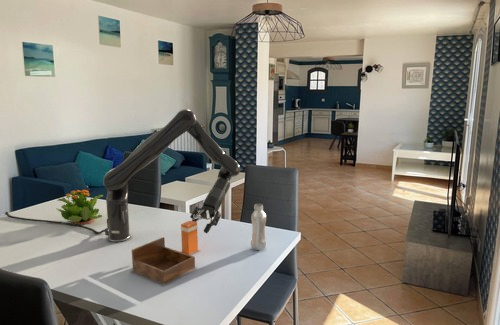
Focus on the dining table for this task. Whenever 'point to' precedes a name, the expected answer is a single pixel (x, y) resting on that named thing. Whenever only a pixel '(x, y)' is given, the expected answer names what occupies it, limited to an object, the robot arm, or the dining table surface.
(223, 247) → the dining table surface
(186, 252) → the packet
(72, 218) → the potted flower
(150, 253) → the drawer
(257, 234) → the plastic bottle
